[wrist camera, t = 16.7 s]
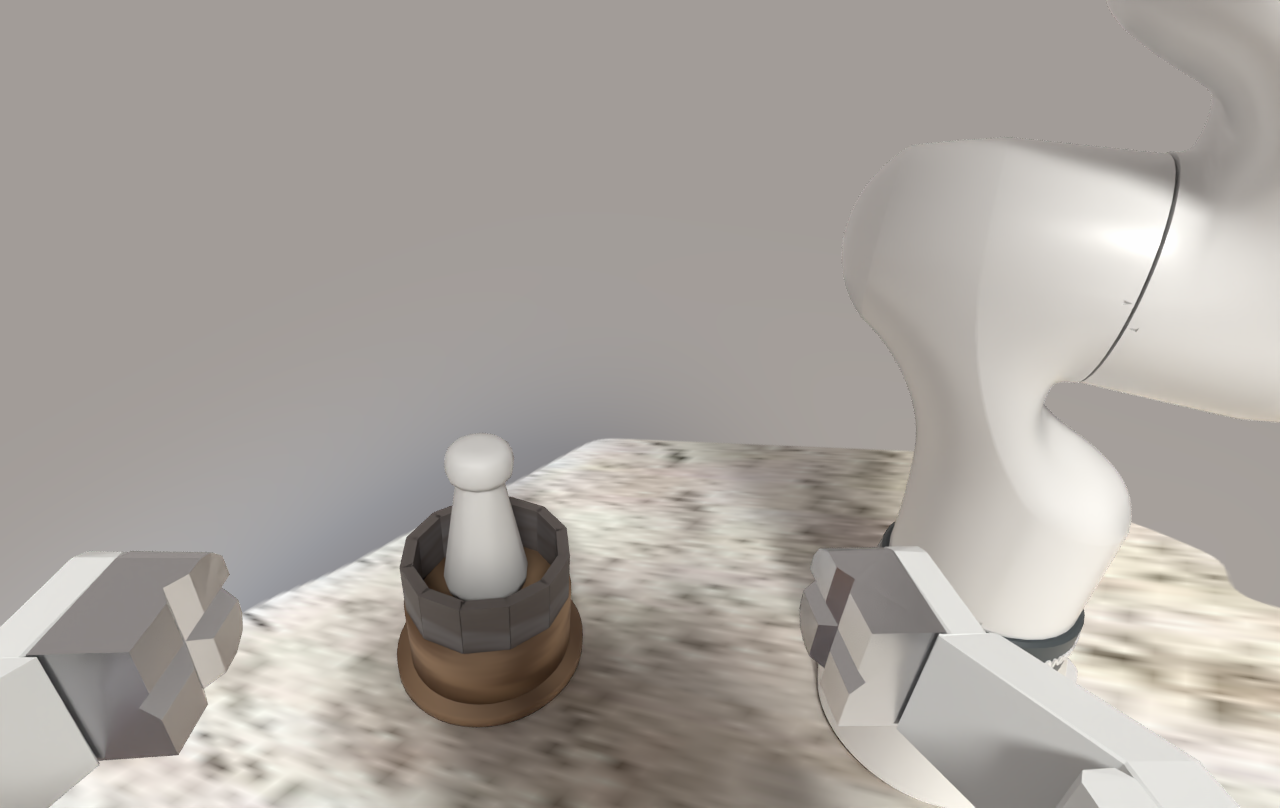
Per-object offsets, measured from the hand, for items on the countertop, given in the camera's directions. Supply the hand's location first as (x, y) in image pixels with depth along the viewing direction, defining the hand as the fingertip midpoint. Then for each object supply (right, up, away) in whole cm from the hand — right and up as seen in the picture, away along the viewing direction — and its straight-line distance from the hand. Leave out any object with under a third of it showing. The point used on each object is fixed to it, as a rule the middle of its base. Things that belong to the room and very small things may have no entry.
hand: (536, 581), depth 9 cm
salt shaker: (-10, -12, +36) cm, 39 cm away
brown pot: (-10, -16, +39) cm, 44 cm away
